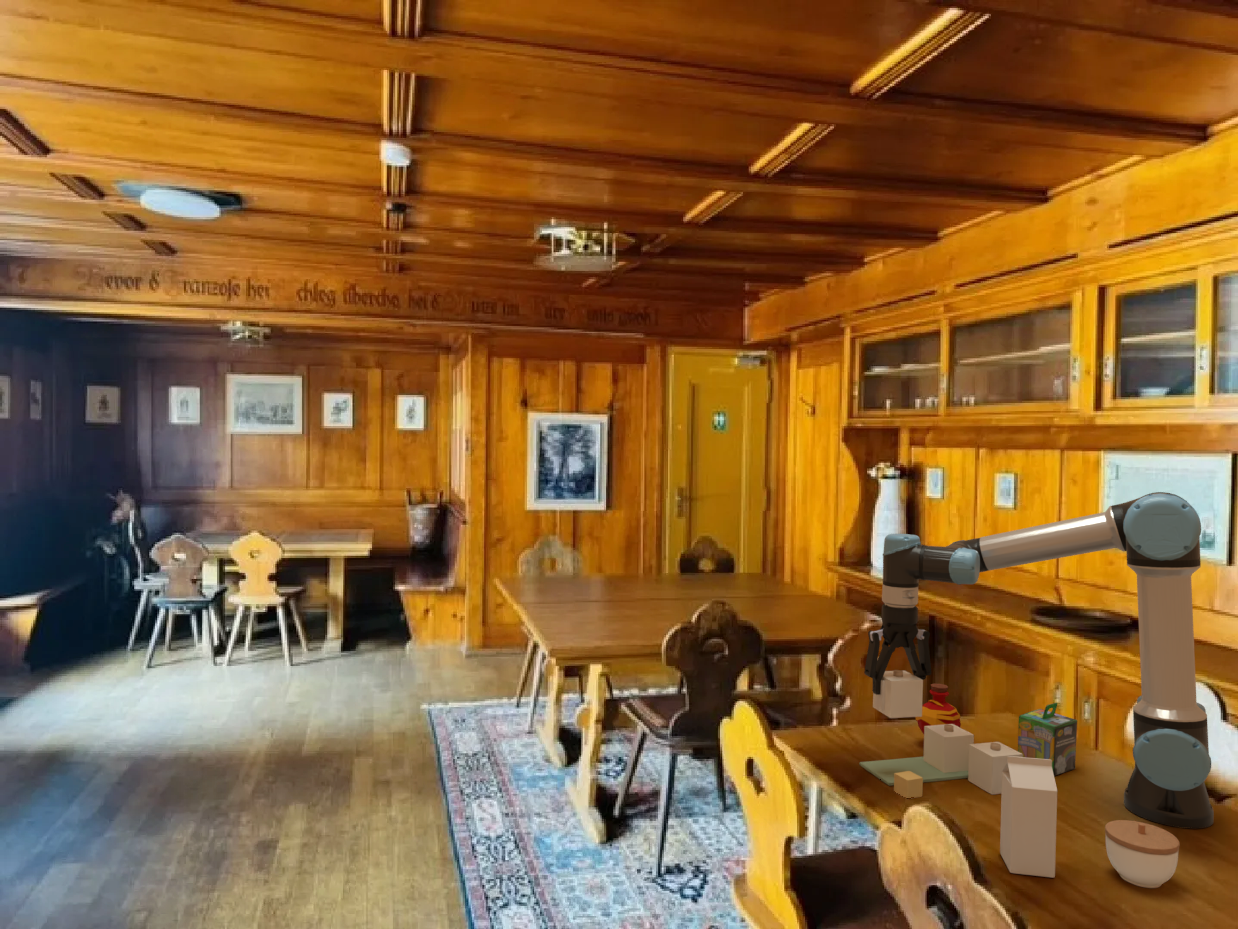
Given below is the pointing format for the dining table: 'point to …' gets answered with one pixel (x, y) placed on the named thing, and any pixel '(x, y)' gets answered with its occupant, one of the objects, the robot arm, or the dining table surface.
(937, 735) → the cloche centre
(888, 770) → the felt mat
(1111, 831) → the lidded jar
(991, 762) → the cloche right
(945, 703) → the potion bottle
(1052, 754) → the chalk box
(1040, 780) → the milk carton
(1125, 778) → the dining table surface
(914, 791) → the tan cube
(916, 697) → the cloche left
